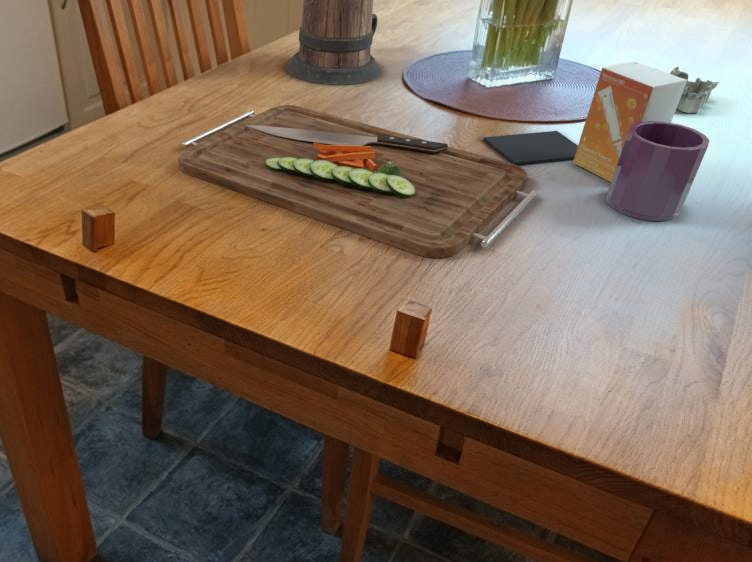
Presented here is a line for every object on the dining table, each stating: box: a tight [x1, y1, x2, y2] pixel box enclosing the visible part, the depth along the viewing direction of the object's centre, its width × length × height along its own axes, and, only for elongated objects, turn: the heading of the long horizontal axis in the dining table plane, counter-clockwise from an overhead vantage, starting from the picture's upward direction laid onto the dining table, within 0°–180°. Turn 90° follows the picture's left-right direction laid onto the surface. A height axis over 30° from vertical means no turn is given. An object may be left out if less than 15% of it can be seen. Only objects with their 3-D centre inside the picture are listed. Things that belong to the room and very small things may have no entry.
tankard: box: [286, 0, 381, 86], centre depth 125 cm, size 24×17×20 cm
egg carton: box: [669, 66, 719, 114], centre depth 117 cm, size 11×8×4 cm
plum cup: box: [605, 121, 710, 222], centre depth 87 cm, size 9×9×9 cm
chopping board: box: [178, 104, 538, 259], centre depth 94 cm, size 45×27×3 cm, turn 54°
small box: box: [572, 61, 687, 183], centre depth 93 cm, size 8×6×13 cm
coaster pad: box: [483, 130, 578, 166], centre depth 103 cm, size 12×9×1 cm
